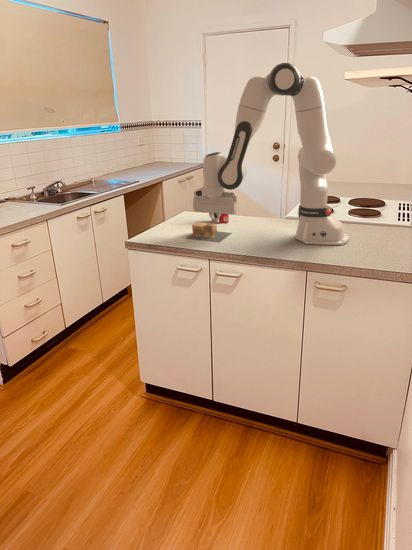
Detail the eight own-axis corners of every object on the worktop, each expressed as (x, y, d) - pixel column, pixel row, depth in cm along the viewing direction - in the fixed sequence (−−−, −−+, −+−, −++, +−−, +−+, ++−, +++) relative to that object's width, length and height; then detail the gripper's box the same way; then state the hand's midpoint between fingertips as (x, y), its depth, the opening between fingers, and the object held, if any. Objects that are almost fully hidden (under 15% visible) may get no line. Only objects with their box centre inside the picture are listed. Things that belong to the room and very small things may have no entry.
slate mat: (232, 234, 189) (232, 232, 189) (219, 243, 178) (219, 242, 177) (199, 230, 196) (199, 229, 196) (185, 239, 185) (185, 238, 185)
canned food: (229, 220, 211) (228, 198, 206) (228, 224, 204) (227, 202, 199) (214, 220, 212) (213, 199, 207) (213, 224, 204) (212, 203, 200)
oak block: (216, 224, 186) (197, 222, 190) (212, 227, 182) (192, 225, 186) (217, 234, 188) (197, 232, 192) (212, 237, 184) (192, 235, 188)
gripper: (239, 191, 175) (239, 222, 181) (197, 188, 184) (198, 218, 190) (233, 194, 170) (234, 226, 176) (190, 191, 179) (192, 222, 184)
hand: (215, 222), depth 183 cm, fingers closed
